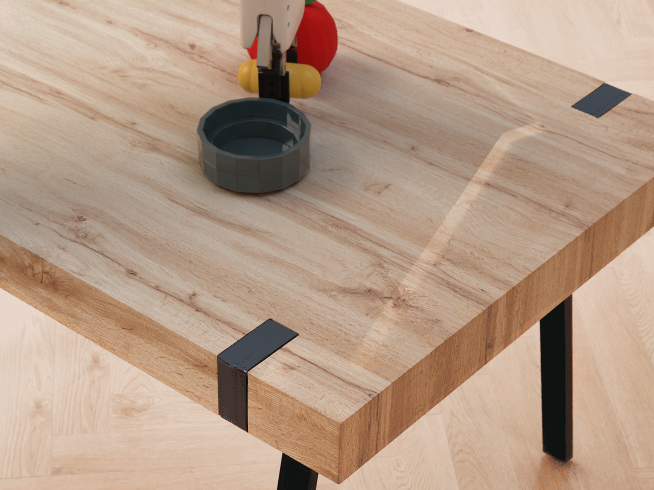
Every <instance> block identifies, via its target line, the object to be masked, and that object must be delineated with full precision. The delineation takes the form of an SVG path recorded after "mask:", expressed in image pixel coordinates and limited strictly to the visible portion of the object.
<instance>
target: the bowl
mask: <svg viewBox="0 0 654 490" xmlns="http://www.w3.org/2000/svg"><path fill="white" fill-rule="evenodd" d="M196 140H197V153H198V164H199V166H200V168H201V171H202V173H203V175H204V176H205V177H206V178H207V179H208V180H210V182H213V184H215V185H216V186H217V187H221V188H224V189H227V190H230V191H234V192H237V193H249V194H251V193H252V194H263V193H264V194H265V193H269V192H275V191H280V190H284V189H285V188H288V187H289V186H291V185H293V184H295V183H298V182H299V181H301V179H302V178H303V177H304V176H305V175H306V174H307V173H308V172H309V171H310V167H311V162H312V161H311V160H312V123H311V122H310V119H309V118H308V116H307V115H306V113H305V112H304V111H302V110H301V109H299V108H298V107H297V106H294V105H293V104H292V103H286V102H282V101H279V100H275V99H271V98H259V97H255V96H254V97H253V96H249V97H242V98H236V99H230V100H229V99H228V100H226V101H224V102H221V103H219V104H217V105H214V106H212V107H211V108H210V109H208V110H207V111H206V112H204V114H203V115H202V116H200V118H199V120H198V124H197V127H196Z"/></svg>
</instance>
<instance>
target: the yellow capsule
mask: <svg viewBox="0 0 654 490" xmlns="http://www.w3.org/2000/svg"><path fill="white" fill-rule="evenodd" d="M256 62H257V59H251V58H250V59H247V60H246V61H244V62H243V63H241V65H240V66H239V67H238V70H237V73H236V76H237V78H236V79H237V83H238V84H239V87H240V88H241V89H243V91H245V92H246V93H249V94H254V95H259V88H258V68H257V66H256ZM286 71H289V85H290V99H299V100H308V99H311V98H314V97H315V96H316V95H317V94H318V93H319V91H320V90H321V87H322V77H321V74H319V73H318V71H317V70H316V69H315V68H314V67H312V66H310V65H306V64H296V63H287V62H286Z"/></svg>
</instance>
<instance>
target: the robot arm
mask: <svg viewBox="0 0 654 490" xmlns="http://www.w3.org/2000/svg"><path fill="white" fill-rule="evenodd" d="M304 8H305V0H239V35H240V36H239V37H240V39H239V41H240V46H241V47H242V48H243V49H244V50H247V48H251V47H252V45H253V43H254V41H255V39H256V37H257V44H258V50H257V62H256V66H257V68H258V88H259V94H258V98H271V99H275V100H279V101H282V102H286V103H289V104H291V98H290V85H289V71H286V62H287V63H296V64H298V50H292V49H296V47H297V29H298V27H299V25H300V22H301V20H302V17H303V13H304Z"/></svg>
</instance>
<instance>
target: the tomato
mask: <svg viewBox="0 0 654 490" xmlns="http://www.w3.org/2000/svg"><path fill="white" fill-rule="evenodd" d="M338 34H339V33H338V28H337V25H336V21H335V19H334V17H333V16H332V14H331V12H329V11H328V9H327V8H326V6H325V4H323V3H321V2H320V1H319V0H305V8H304V13H303V17H302V20H301V22H300V25H299V27H298V29H297V47H296V49H292V50H298V64H306V65H310V66H312V67H314V68H315V69H316V70H317V71H318V73H319V74H320V75H321V74H322V73H323V72H325V71H326V70H327V69H328V68H329V67H330V65H331V63H332V62H333V61H334V58H335V56H336V54H337V51H338V46H339V35H338ZM257 50H258V44H257V37H256V39H255V41H254V43H253V45H252V47H251V48H247V49H246V51H247V54H248V55H249V58H250V60H251V59H257Z"/></svg>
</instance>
